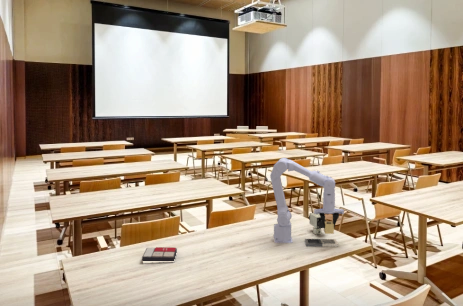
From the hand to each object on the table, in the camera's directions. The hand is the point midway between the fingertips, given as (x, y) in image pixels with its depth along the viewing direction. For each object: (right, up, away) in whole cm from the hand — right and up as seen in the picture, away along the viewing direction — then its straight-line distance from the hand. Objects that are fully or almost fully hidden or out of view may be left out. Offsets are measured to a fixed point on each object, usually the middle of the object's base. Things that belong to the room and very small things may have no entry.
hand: (328, 227), depth 190 cm
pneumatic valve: (-2, -7, +17) cm, 18 cm away
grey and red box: (-84, -14, -10) cm, 86 cm away
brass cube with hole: (0, -3, 0) cm, 3 cm away
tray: (-3, -9, +2) cm, 10 cm away
